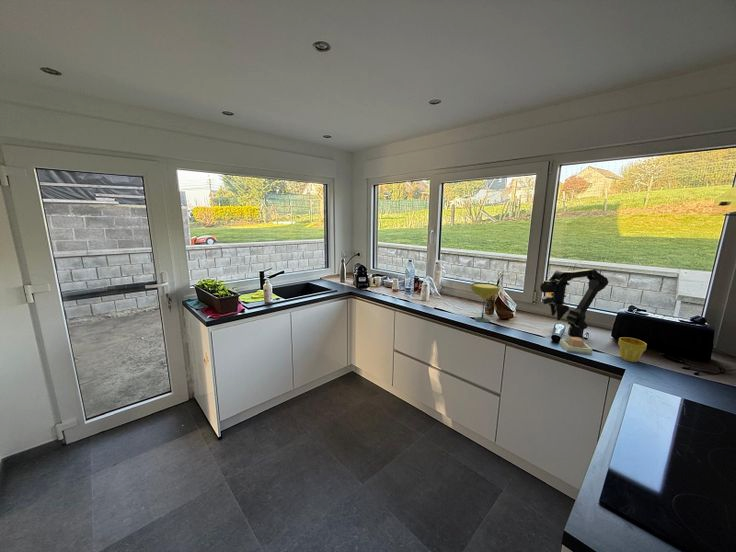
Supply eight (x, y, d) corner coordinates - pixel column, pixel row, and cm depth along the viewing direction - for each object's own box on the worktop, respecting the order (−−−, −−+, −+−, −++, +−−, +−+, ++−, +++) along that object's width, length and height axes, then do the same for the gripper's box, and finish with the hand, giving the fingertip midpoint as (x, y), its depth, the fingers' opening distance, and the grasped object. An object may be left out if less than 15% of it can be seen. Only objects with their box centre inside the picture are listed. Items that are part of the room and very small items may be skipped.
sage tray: (582, 346, 160) (583, 341, 159) (591, 354, 149) (592, 349, 149) (559, 343, 163) (560, 338, 162) (567, 352, 152) (568, 346, 152)
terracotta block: (578, 346, 158) (579, 337, 157) (582, 349, 153) (583, 341, 152) (568, 344, 159) (569, 336, 158) (571, 348, 154) (573, 339, 153)
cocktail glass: (479, 314, 213) (482, 281, 209) (501, 321, 198) (505, 286, 194) (463, 318, 204) (465, 284, 199) (485, 326, 189) (488, 289, 184)
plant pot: (637, 365, 138) (641, 346, 137) (611, 356, 147) (615, 339, 146) (647, 361, 143) (650, 343, 141) (621, 353, 152) (624, 335, 150)
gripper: (539, 287, 179) (535, 311, 181) (548, 294, 161) (545, 321, 164) (559, 289, 176) (555, 313, 178) (571, 296, 158) (567, 323, 161)
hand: (555, 317), depth 170 cm, fingers open, 9 cm apart
